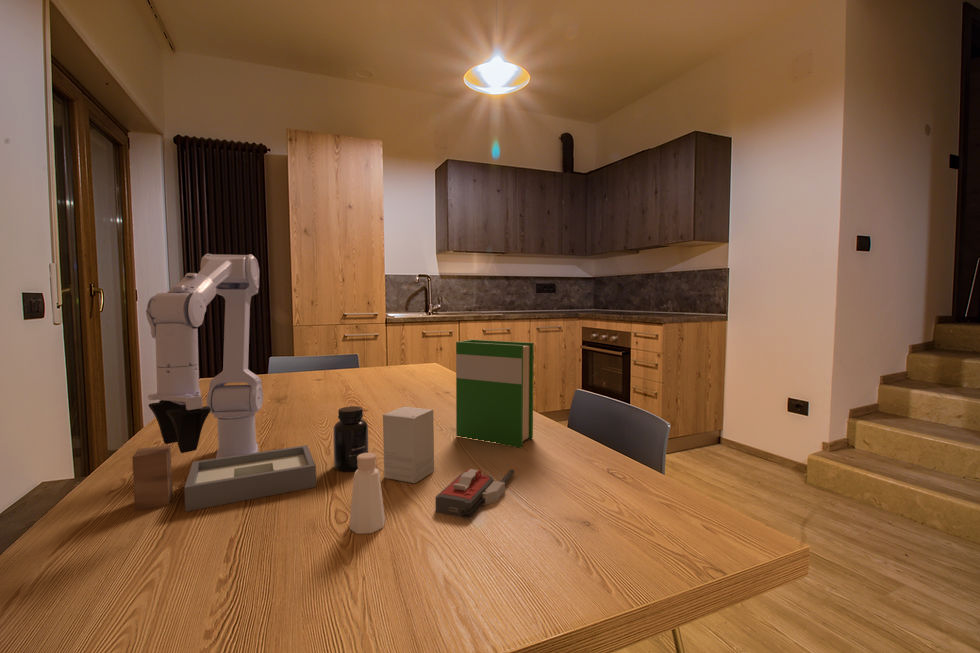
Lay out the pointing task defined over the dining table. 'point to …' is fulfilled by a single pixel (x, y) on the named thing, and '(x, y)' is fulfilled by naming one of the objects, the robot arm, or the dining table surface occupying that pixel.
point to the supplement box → (408, 444)
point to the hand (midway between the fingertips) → (180, 446)
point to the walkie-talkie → (470, 493)
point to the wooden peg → (152, 477)
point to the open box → (248, 477)
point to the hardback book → (494, 391)
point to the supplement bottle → (349, 438)
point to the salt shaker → (366, 497)
